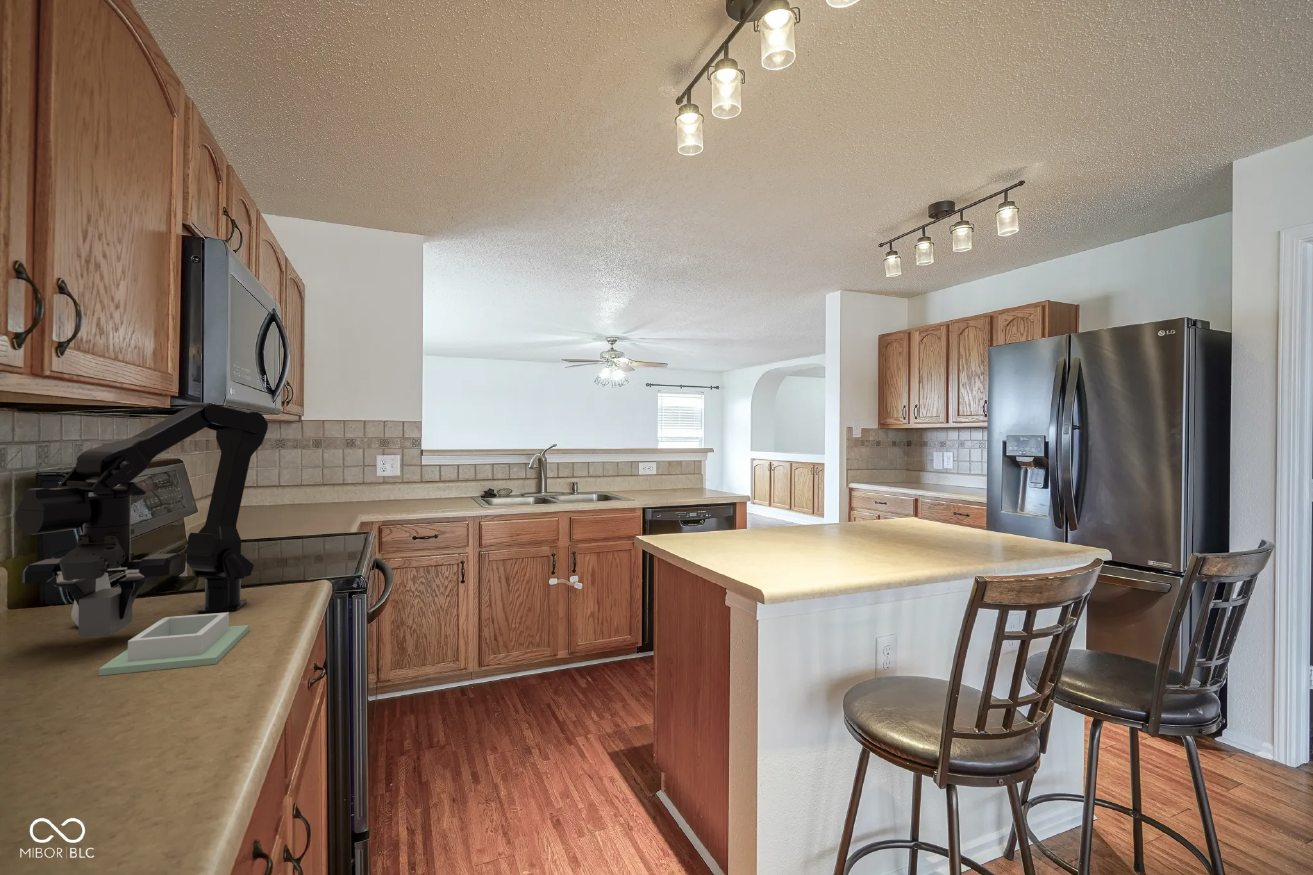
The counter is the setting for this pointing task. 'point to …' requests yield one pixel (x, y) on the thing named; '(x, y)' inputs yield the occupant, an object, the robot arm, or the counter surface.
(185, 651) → the deck plate
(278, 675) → the counter surface
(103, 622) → the chute block
